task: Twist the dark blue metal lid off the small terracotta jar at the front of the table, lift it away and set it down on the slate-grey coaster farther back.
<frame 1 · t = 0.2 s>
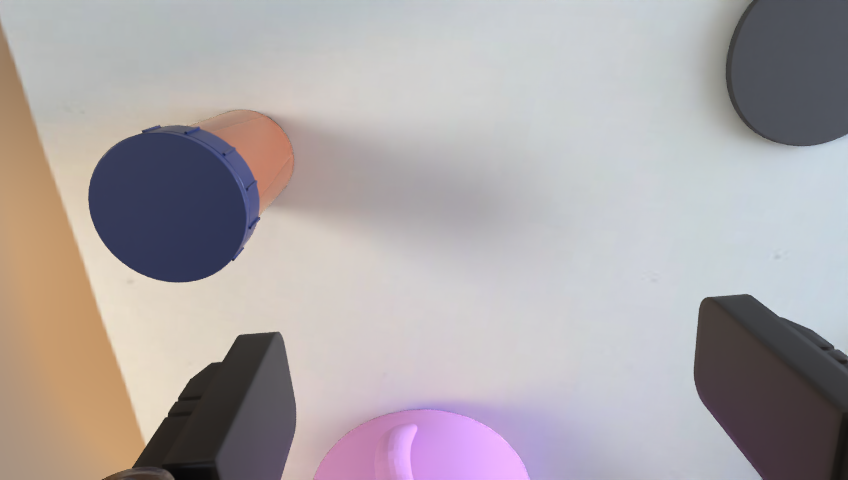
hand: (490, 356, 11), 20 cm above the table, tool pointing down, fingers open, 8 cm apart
lid: (172, 208, 21), point 10 cm above the table, screwed on, not yet turned
jar: (246, 157, 30), on the table
coaster: (815, 55, 29), on the table
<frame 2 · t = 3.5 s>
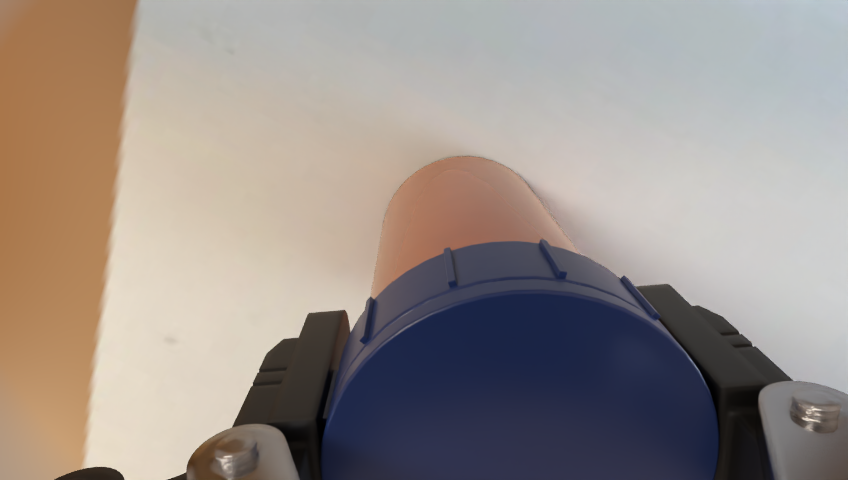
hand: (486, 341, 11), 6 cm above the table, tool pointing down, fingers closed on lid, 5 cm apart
lid: (515, 452, 8), point 10 cm above the table, screwed on, not yet turned, touching gripper
jar: (463, 236, 17), on the table
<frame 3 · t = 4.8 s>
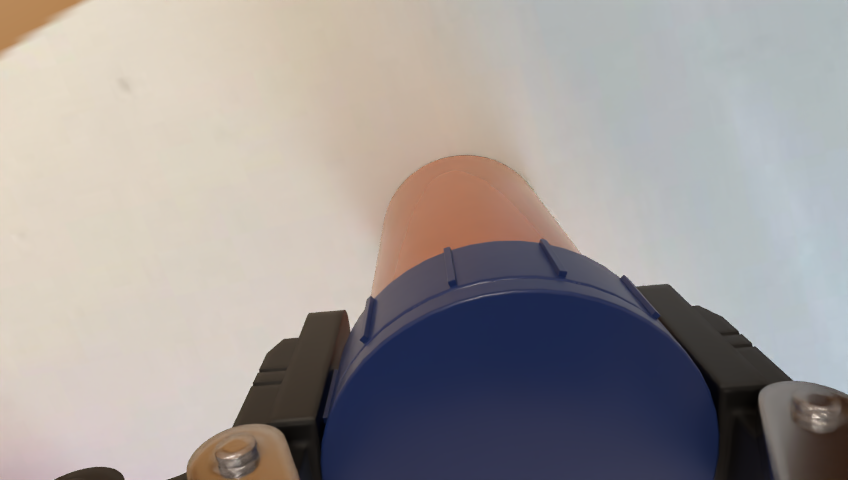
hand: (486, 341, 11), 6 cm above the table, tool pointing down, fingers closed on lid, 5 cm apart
lid: (515, 452, 8), point 10 cm above the table, turned 41° so far, risen 0.1 cm, still on its thread, touching gripper
jar: (463, 234, 18), on the table
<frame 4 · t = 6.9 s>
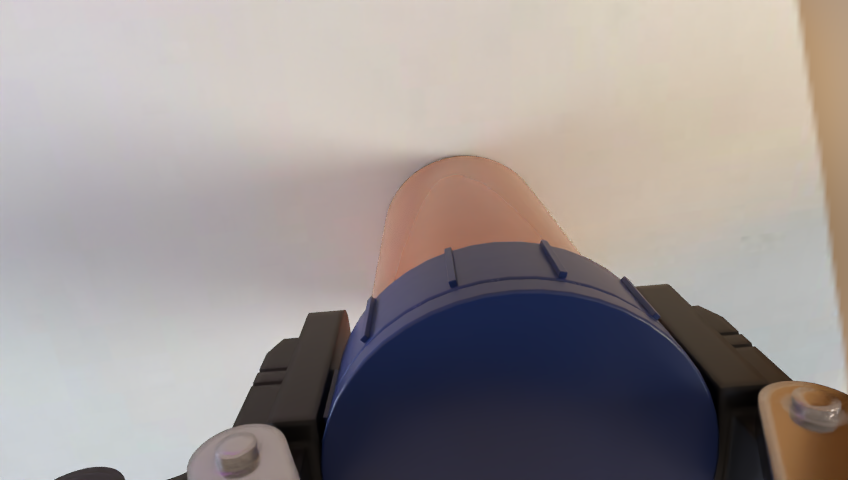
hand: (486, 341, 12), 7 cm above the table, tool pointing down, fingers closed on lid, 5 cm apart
lid: (515, 452, 8), point 10 cm above the table, turned 140° so far, risen 0.4 cm, still on its thread, touching gripper
jar: (463, 234, 18), on the table
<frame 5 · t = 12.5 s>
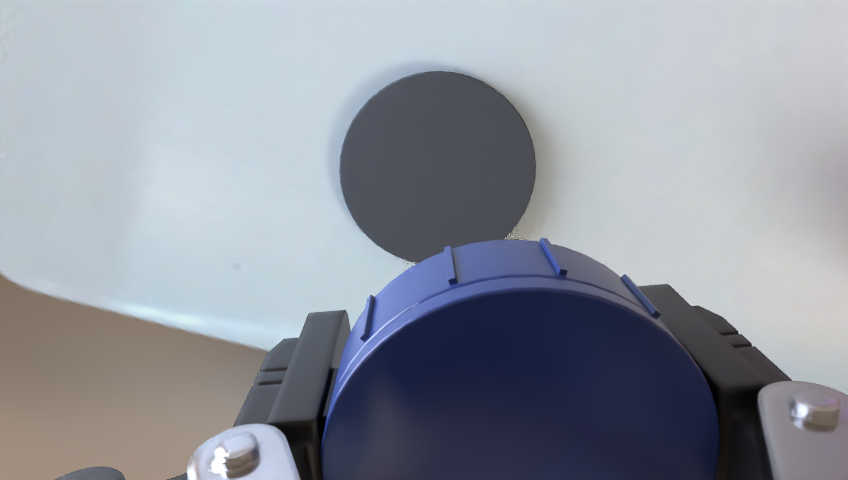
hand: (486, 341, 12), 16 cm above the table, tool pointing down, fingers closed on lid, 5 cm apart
lid: (515, 451, 8), point 19 cm above the table, off its thread, touching gripper
coaster: (437, 171, 26), on the table
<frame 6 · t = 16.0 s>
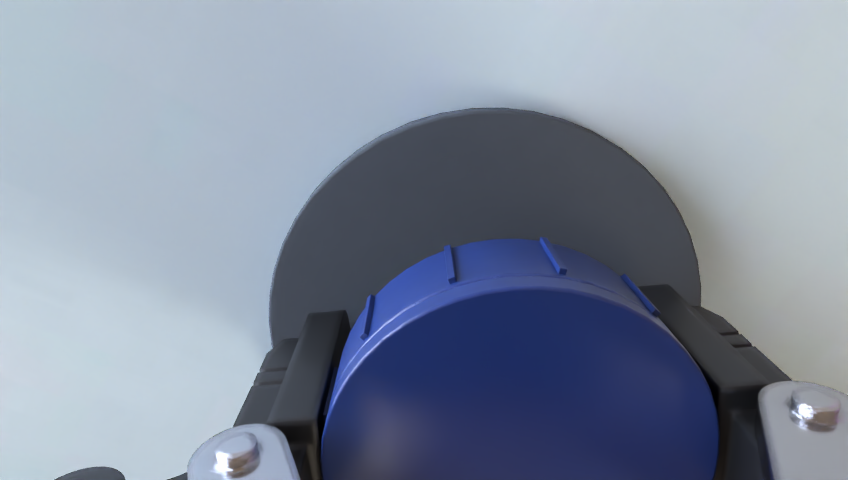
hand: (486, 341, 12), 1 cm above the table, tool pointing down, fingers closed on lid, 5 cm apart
lid: (515, 450, 8), point 4 cm above the table, off its thread, touching gripper
coaster: (482, 318, 12), on the table
when the fingers open (1 cm above the table, at t = 21.7 s): lid drops 2 cm, resting on coaster.
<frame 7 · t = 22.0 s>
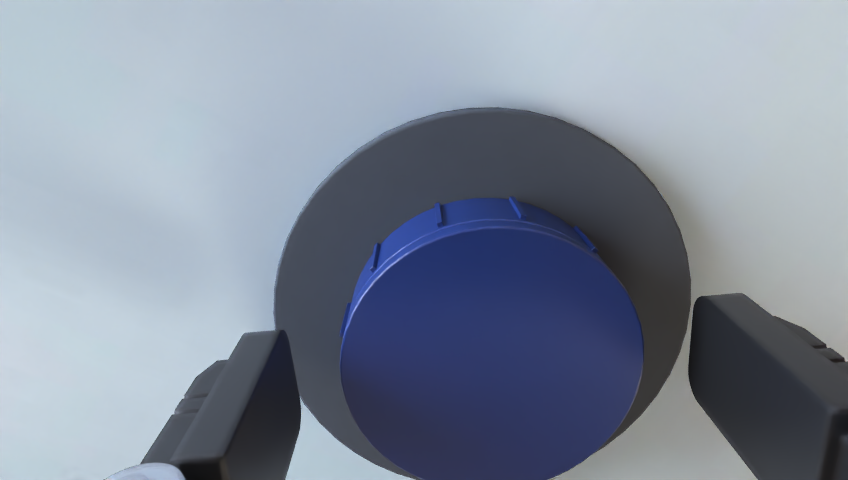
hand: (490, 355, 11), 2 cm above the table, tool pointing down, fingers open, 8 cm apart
lid: (489, 359, 11), point 2 cm above the table, off its thread, touching coaster
coaster: (480, 311, 13), on the table
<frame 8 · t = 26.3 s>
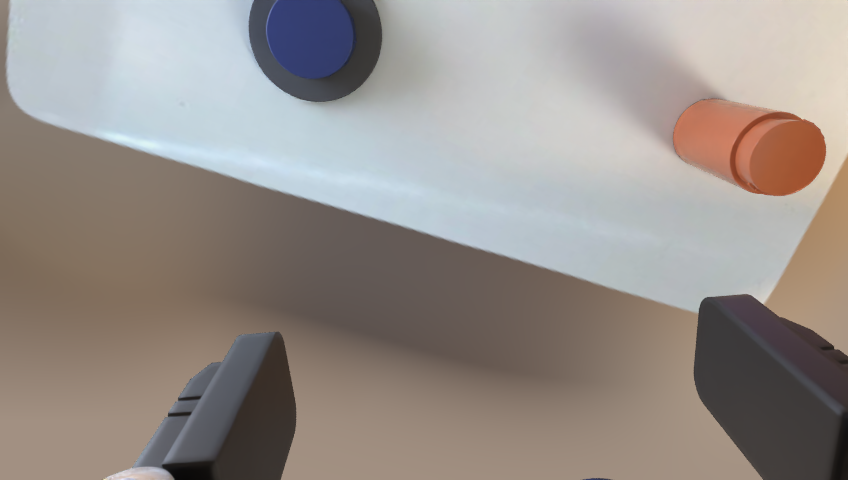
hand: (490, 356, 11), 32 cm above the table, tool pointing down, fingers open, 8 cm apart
lid: (310, 34, 37), point 2 cm above the table, off its thread, touching coaster
jar: (706, 133, 42), on the table
coaster: (316, 34, 39), on the table
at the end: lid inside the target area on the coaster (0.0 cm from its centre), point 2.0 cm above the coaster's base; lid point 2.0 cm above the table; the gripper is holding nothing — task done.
